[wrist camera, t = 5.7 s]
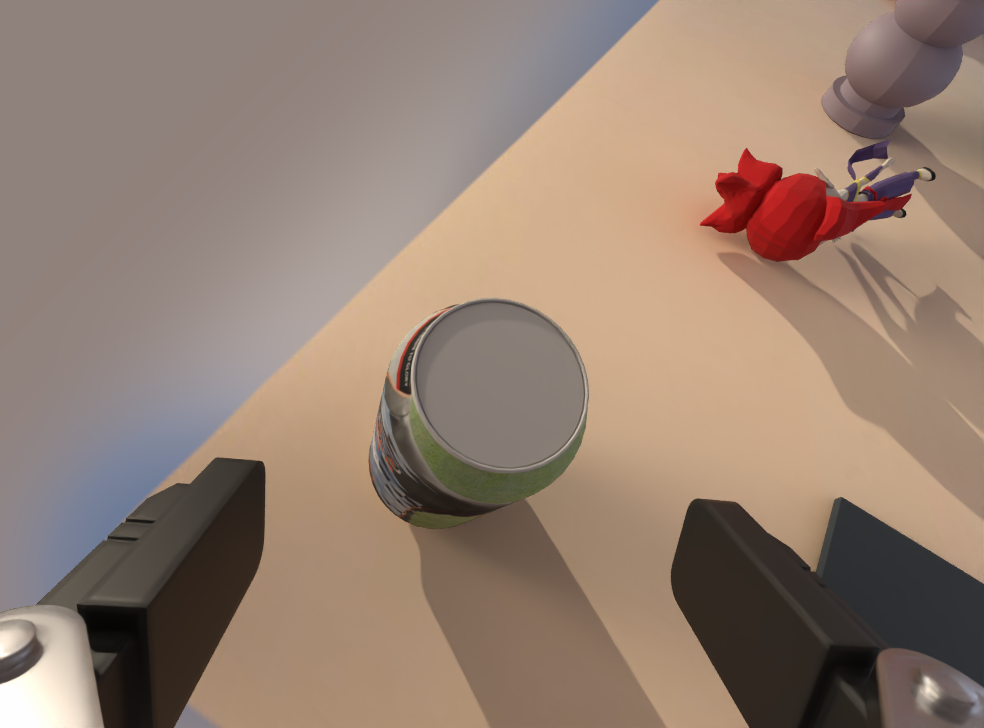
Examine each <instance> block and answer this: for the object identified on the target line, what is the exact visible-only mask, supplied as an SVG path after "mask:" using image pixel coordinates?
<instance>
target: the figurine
mask: <svg viewBox="0 0 984 728" xmlns="http://www.w3.org/2000/svg"><path fill="white" fill-rule="evenodd" d="M891 140H892V139H890V140H887V141H883V142H880V143H877V144H874V145H871V146H868V147H865V148H862V149H859V150H856V152H855V153H854V154H853V155H852V157H851V158H850V159H849V161H848V172H849V174H850V175H851V177H852V178H853V179H854V181H853V182H852V183H851V184H850V185H849V186H848V187H846V188H845V189H842V190H839V191H836V189H835V188H834V185H833V184H832V183H830V181H829V180H828V179H827V178H826V177H825V176H824V175H823V173H822V172H821V171H820V170H819V169H818V168H815V172H816V174H817V176H818V177H816V176H812V175H809V174H800V173H798V174H795V175H792V176H789V177H786V178H783V179H782V180H781V177H782V168H781V167H780V166H778V165H776V164H773V163H766V162H762V161H759V160H756V159H755V158H754V157H753V156H752V155H751V153H750V152H749V151H748V149H747V148H746V149H745V150H744V152H743V154H742V156H741V158H740V161H739V164H738V173H734V172H732V173H718V179H717V180H716V182H715V185H716V189H717V191H718V193H719V194H720V196H721V197H722V198H724V201H725V203H724V204H723V205H722V206H721V207H719V208H718V209H717V210H716V211H714V212H713V213H712V214H711V215H710V216H708V217H707V218H706V219H705V220H703V221H702V222H701V223H700V226H711V227H713V228H715V229H716V230H718V231H719V232H724V233H737V232H739V231H742V230H744V229H745V228H746V232H747V237H748V240H749V243H750V246H751V249H752V250H754V251H755V252H756V253H757V254H759V255H760V256H761V257H763V258H766V259H770V260H773V261H777V262H779V261H787V260H799V259H801V258H803V257H804V256H806V255H808V254H810V253H812V252H813V251H815V250H816V248H817V247H818V246H819V245H820V244H822V243H824V242H825V241H827V240H832V242H835V240H837V241H838V239H840V238H839V237H841V236H843V235H846V234H848V233H850V232H851V231H852V232H853V231H854V230H855V229H856V228H857V227H859V226H860V225H862V224H863V223H865V222H866V221H868V220H876V219H883V218H888V217H891V216H894V217H897V218H903V217H905V216H906V211H905V210H904V209H902V208H903V207H904V205H905V204H906V203H907V202H908V201H909V200H910V198H911V194H909V195H907V196H904V197H898V196H901V195H903V194H906V193H908V192H910V190H911V188H912V186H913V184H914V180H915V179H920V180H924V181H932V180H934V179H935V177H936V175H935V172H933V171H932V170H931V169H929V168H926V167H924V168H920V169H918V170H916V171H913V172H910V173H906V172H905V173H902V174H899V175H896V176H893V177H890V178H887V179H885V180H882V181H880V182H877V183H875V184H873V185H872V186H870V187H869V186H867V187H865V188H864V189H863V190H862V191H861V192H859V191H860V188H861V187H862V186H863V185H865V184H867V183H869V182H870V181H872V180H873V179H874V178H875V177H876V176H877V175H878V174H879V173H880V172H881V171H882V170H883V169H885V168H887V167H888V166H889V165H891V164H893V163H894V161H893V160H894V159H895V158H894V159H893V157H892V158H891V157H890V158H889V159H888V156H887V145H888V144H889V142H890V141H891ZM872 158H879V159H887V160H886V161H885V162H884V163H883V164H882V165H881V166H879V167H878V168H876V169H875V170H873V171H872V172H870V173H869V174H867V175H866V176H864V177H863V178H861V179H860V180H859V179H857V180H856V175H855V172H854V170H853V168H852V166H851V165H852V163H854V162H859V161H863V160H868V159H872ZM895 197H897V198H895Z"/></svg>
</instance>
